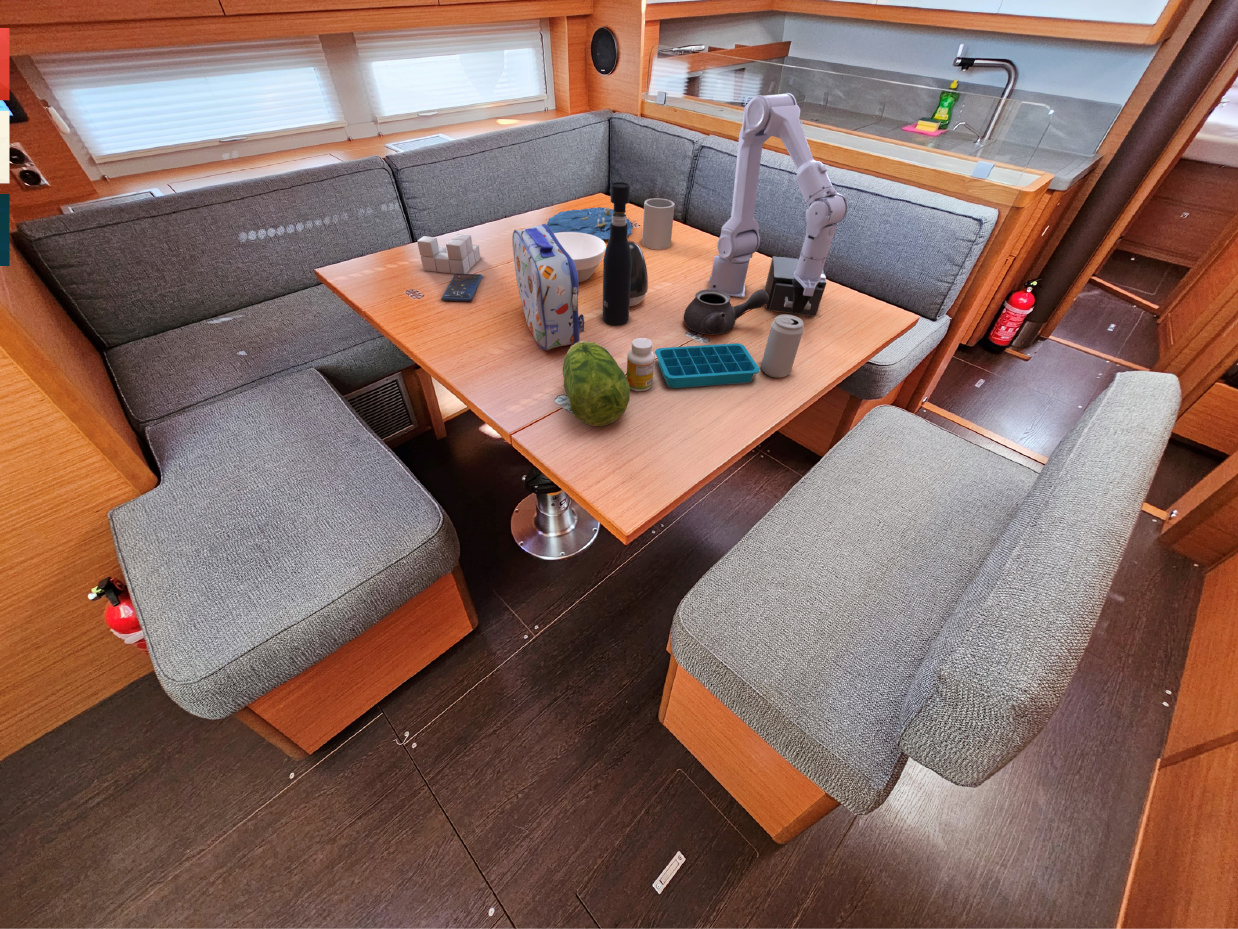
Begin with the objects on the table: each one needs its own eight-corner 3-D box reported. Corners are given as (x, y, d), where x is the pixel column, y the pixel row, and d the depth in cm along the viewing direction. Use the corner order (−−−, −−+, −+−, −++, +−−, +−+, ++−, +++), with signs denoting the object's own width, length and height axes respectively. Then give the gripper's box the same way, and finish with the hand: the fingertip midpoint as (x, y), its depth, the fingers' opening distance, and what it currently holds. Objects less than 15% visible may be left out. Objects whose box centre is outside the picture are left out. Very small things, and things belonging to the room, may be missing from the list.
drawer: (817, 323, 125) (825, 297, 121) (769, 318, 127) (776, 292, 122) (811, 294, 137) (819, 269, 133) (768, 289, 139) (774, 264, 134)
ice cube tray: (758, 384, 107) (762, 372, 105) (665, 391, 104) (666, 378, 102) (739, 354, 115) (742, 342, 113) (652, 360, 112) (653, 348, 110)
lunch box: (590, 356, 113) (590, 255, 98) (544, 364, 110) (537, 261, 94) (554, 301, 131) (549, 209, 116) (514, 307, 128) (503, 213, 113)
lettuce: (606, 368, 109) (607, 320, 101) (635, 429, 95) (638, 377, 87) (553, 375, 107) (550, 326, 99) (574, 438, 92) (572, 386, 85)
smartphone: (482, 273, 139) (470, 299, 128) (482, 276, 140) (471, 302, 129) (454, 272, 139) (440, 297, 128) (454, 275, 139) (441, 300, 128)
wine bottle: (632, 316, 127) (640, 182, 106) (623, 327, 122) (630, 191, 102) (607, 311, 128) (611, 178, 107) (598, 322, 124) (600, 186, 103)
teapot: (690, 346, 117) (697, 305, 110) (678, 314, 128) (683, 275, 121) (770, 344, 119) (781, 304, 112) (750, 313, 130) (759, 274, 123)
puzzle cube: (480, 258, 149) (476, 229, 143) (464, 275, 140) (459, 245, 135) (441, 253, 150) (436, 225, 145) (423, 270, 141) (416, 241, 136)
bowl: (522, 281, 139) (519, 250, 133) (555, 256, 152) (554, 227, 146) (588, 296, 134) (588, 264, 128) (616, 268, 147) (617, 239, 141)
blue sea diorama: (603, 256, 157) (603, 238, 153) (527, 232, 167) (526, 215, 164) (652, 225, 174) (653, 209, 170) (581, 205, 185) (580, 190, 181)
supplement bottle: (624, 377, 107) (626, 335, 100) (650, 376, 108) (654, 335, 101) (627, 392, 103) (629, 350, 97) (653, 391, 104) (657, 349, 97)
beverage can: (790, 381, 108) (806, 330, 100) (759, 377, 109) (773, 325, 101) (789, 365, 113) (804, 315, 105) (759, 361, 114) (773, 311, 105)
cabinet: (816, 315, 131) (826, 282, 125) (766, 309, 132) (774, 276, 126) (811, 292, 140) (821, 261, 134) (765, 287, 142) (772, 256, 136)
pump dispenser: (614, 290, 137) (616, 231, 126) (651, 297, 135) (656, 237, 124) (600, 306, 130) (601, 245, 119) (639, 314, 128) (644, 252, 117)
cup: (671, 249, 159) (675, 208, 151) (642, 248, 159) (644, 207, 150) (669, 239, 165) (673, 199, 157) (641, 237, 165) (644, 197, 157)
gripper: (835, 269, 108) (816, 328, 118) (828, 244, 119) (811, 300, 128) (801, 266, 109) (785, 324, 119) (797, 241, 120) (782, 296, 129)
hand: (796, 311), depth 123 cm, fingers closed
